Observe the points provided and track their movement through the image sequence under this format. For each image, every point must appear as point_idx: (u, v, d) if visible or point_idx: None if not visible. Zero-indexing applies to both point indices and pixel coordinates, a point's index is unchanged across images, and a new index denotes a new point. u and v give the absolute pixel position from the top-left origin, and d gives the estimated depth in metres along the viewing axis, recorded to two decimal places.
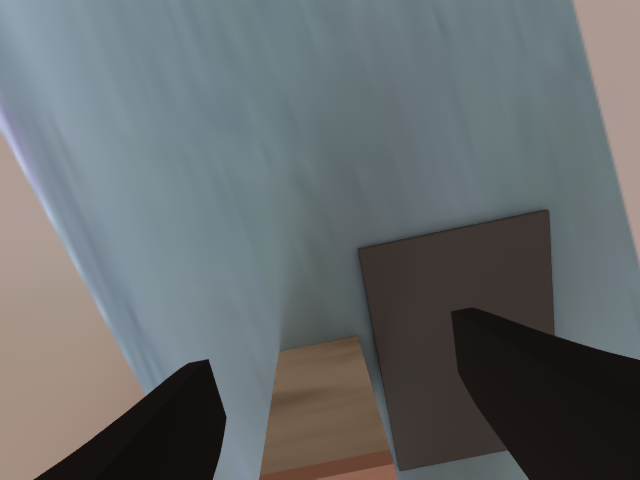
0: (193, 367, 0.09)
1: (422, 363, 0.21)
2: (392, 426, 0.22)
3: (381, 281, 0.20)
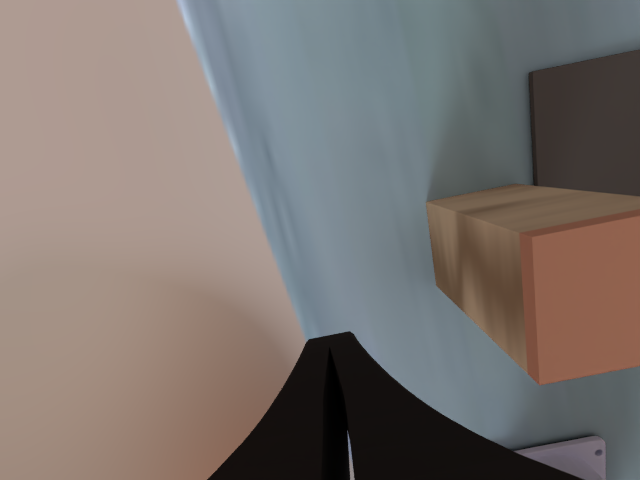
0: (322, 342, 0.09)
1: None
2: None
3: (554, 111, 0.17)
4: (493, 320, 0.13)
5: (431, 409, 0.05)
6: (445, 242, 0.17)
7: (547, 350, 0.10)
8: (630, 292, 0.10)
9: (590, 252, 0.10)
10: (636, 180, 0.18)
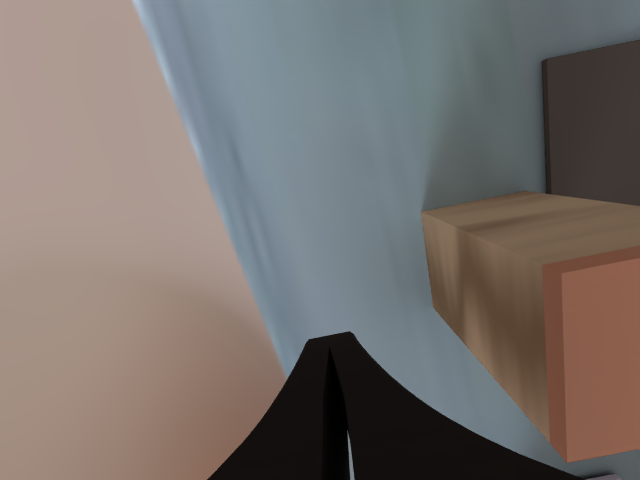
0: (322, 342, 0.09)
1: None
2: None
3: (571, 106, 0.15)
4: (503, 365, 0.11)
5: (431, 409, 0.05)
6: (444, 261, 0.14)
7: (578, 419, 0.08)
8: None
9: None
10: None
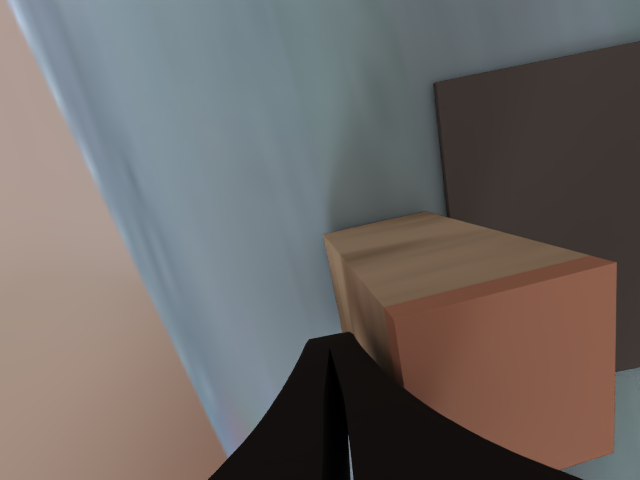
0: (322, 342, 0.09)
1: None
2: None
3: (464, 129, 0.15)
4: None
5: (430, 409, 0.05)
6: (340, 286, 0.13)
7: None
8: (532, 382, 0.07)
9: (476, 334, 0.07)
10: (564, 208, 0.16)
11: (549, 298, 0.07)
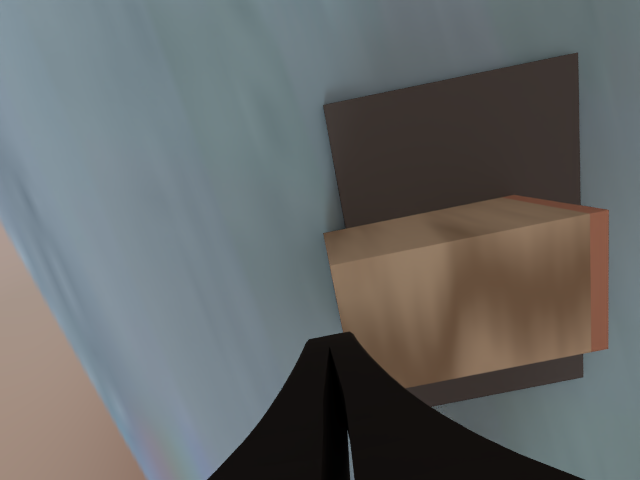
0: (322, 342, 0.09)
1: None
2: None
3: (355, 151, 0.15)
4: (533, 338, 0.12)
5: (431, 409, 0.05)
6: (407, 302, 0.11)
7: None
8: None
9: None
10: None
11: None
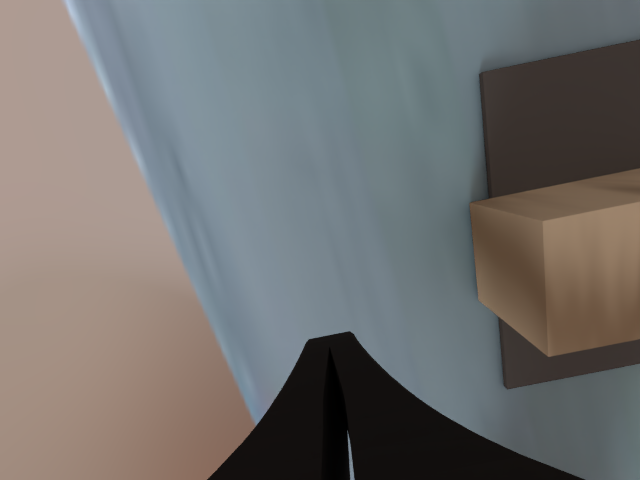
0: (322, 342, 0.09)
1: None
2: (503, 327, 0.17)
3: (509, 119, 0.15)
4: None
5: (431, 409, 0.05)
6: (612, 259, 0.11)
7: None
8: None
9: None
10: None
11: None
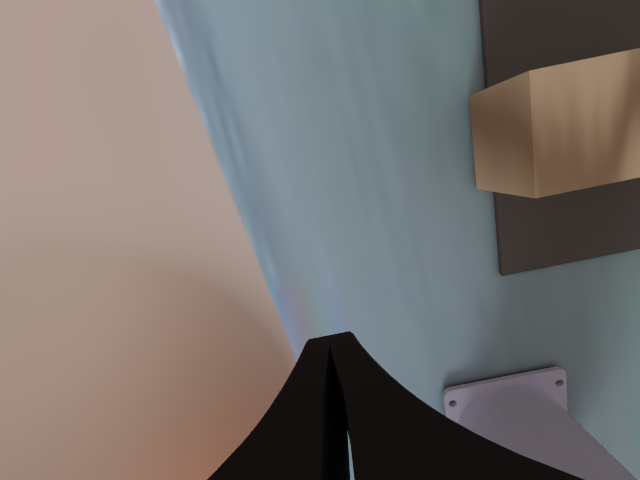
0: (322, 342, 0.09)
1: None
2: (499, 215, 0.19)
3: (503, 17, 0.17)
4: None
5: (431, 409, 0.05)
6: (588, 107, 0.13)
7: None
8: None
9: None
10: None
11: None
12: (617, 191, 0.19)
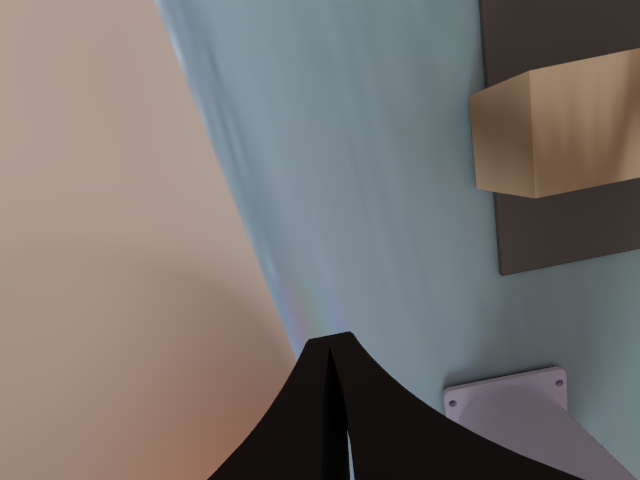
0: (322, 342, 0.09)
1: None
2: (499, 215, 0.19)
3: (503, 17, 0.17)
4: None
5: (431, 409, 0.05)
6: (588, 107, 0.13)
7: None
8: None
9: None
10: None
11: None
12: (617, 191, 0.19)
